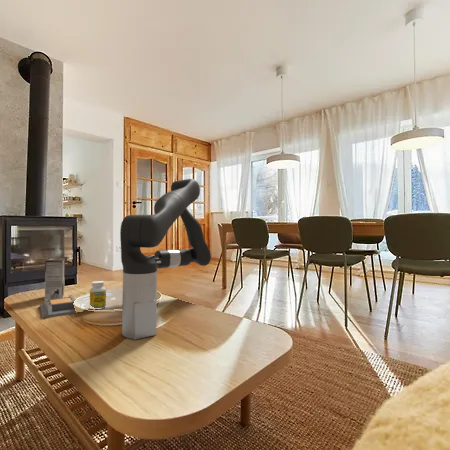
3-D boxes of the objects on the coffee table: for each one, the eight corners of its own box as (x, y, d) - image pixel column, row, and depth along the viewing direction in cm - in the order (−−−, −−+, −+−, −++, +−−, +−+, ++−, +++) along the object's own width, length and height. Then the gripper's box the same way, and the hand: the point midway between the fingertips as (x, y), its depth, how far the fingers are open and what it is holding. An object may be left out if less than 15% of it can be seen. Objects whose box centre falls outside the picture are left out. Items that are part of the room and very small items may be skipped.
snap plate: (72, 303, 100) (72, 301, 100) (51, 306, 96) (51, 304, 96) (69, 299, 105) (69, 297, 105) (49, 302, 101) (49, 300, 101)
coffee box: (47, 296, 119) (48, 258, 120) (64, 294, 122) (65, 257, 122) (43, 301, 111) (44, 260, 111) (62, 299, 114) (63, 259, 114)
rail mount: (83, 311, 98) (83, 303, 98) (42, 318, 91) (43, 308, 91) (75, 301, 111) (76, 294, 111) (39, 306, 103) (39, 298, 103)
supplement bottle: (102, 305, 106) (103, 279, 106) (108, 308, 102) (108, 282, 102) (87, 308, 102) (87, 281, 102) (92, 311, 99) (93, 284, 99)
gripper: (160, 248, 125) (123, 250, 115) (175, 251, 113) (135, 253, 104) (160, 265, 125) (123, 268, 115) (175, 270, 113) (135, 274, 104)
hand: (129, 261), depth 109 cm, fingers open, 8 cm apart
